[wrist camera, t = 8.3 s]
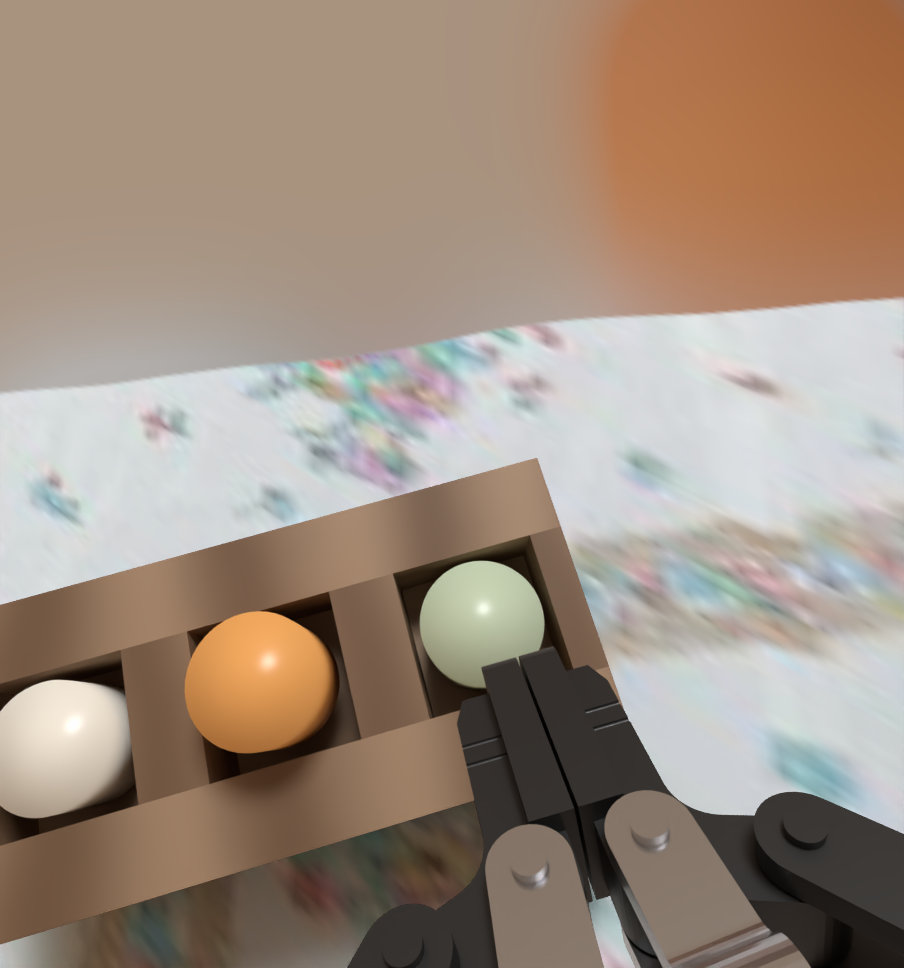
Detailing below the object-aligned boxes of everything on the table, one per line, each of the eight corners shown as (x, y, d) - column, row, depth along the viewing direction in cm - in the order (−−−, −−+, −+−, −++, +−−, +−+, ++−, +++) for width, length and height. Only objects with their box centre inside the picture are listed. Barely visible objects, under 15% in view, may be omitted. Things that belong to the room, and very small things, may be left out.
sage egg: (517, 566, 26) (522, 546, 23) (550, 672, 25) (561, 665, 22) (413, 595, 26) (406, 579, 23) (442, 704, 24) (438, 702, 21)
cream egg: (146, 671, 25) (104, 664, 22) (161, 787, 24) (118, 796, 21) (35, 702, 25) (-21, 699, 22) (44, 821, 23) (-15, 835, 21)
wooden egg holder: (520, 526, 33) (537, 457, 24) (591, 743, 30) (638, 750, 21) (80, 649, 32) (-64, 622, 23) (104, 889, 28) (-54, 960, 20)
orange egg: (325, 610, 24) (305, 595, 21) (351, 729, 23) (333, 730, 20) (211, 642, 24) (175, 632, 21) (230, 765, 22) (195, 771, 19)
